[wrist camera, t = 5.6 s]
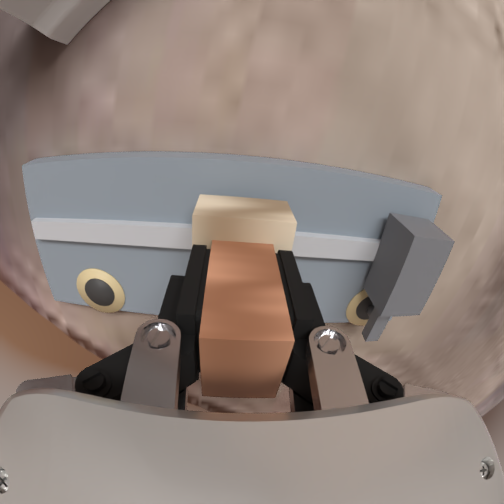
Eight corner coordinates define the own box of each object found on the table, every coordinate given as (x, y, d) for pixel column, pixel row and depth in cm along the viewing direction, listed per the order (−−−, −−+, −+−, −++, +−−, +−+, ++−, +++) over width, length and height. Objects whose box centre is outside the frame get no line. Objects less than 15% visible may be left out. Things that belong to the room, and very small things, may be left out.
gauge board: (428, 187, 15) (474, 218, 11) (381, 310, 20) (405, 354, 16) (36, 158, 12) (-13, 184, 8) (64, 290, 18) (37, 333, 14)
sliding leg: (285, 197, 13) (335, 312, 6) (262, 325, 17) (275, 440, 11) (201, 190, 13) (163, 305, 6) (199, 321, 17) (188, 438, 10)
